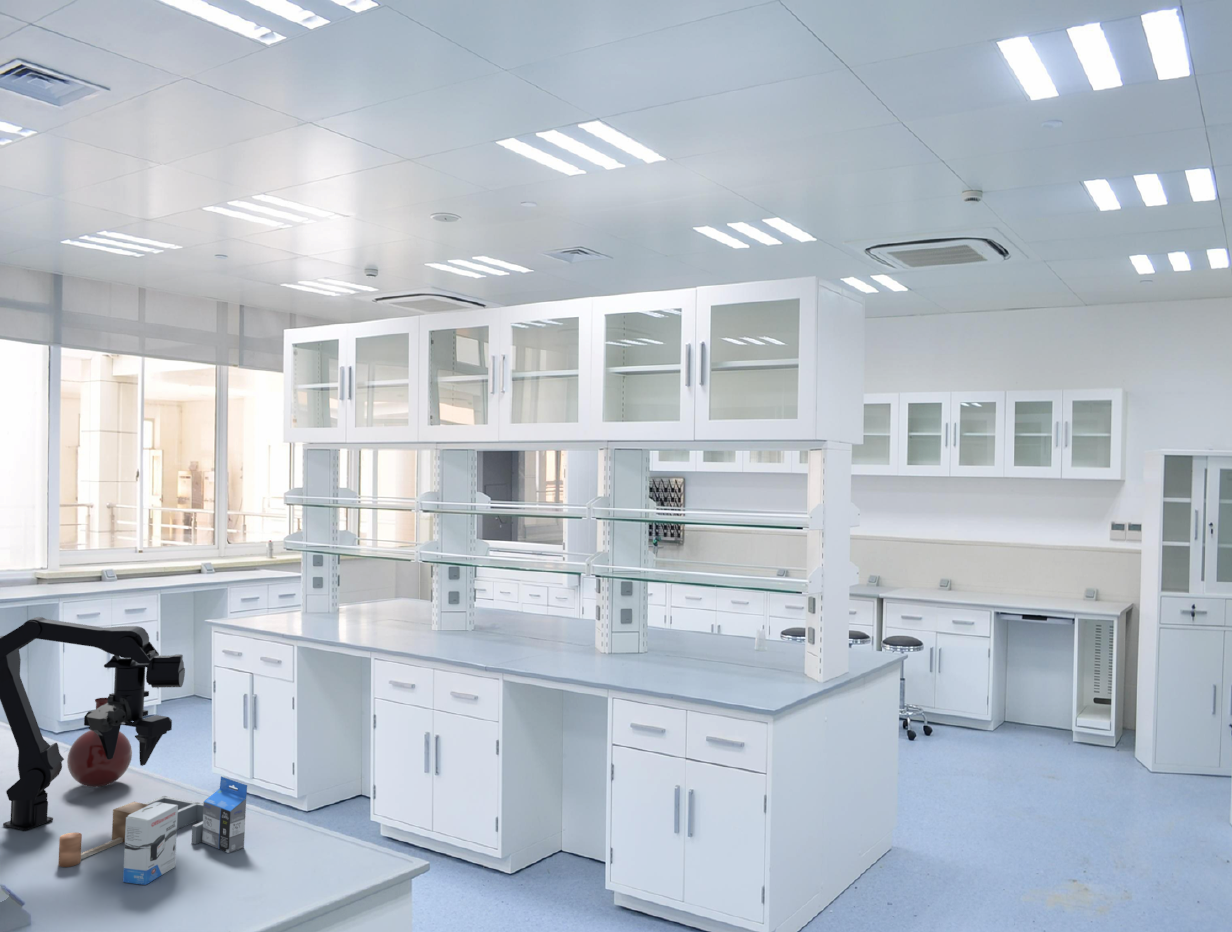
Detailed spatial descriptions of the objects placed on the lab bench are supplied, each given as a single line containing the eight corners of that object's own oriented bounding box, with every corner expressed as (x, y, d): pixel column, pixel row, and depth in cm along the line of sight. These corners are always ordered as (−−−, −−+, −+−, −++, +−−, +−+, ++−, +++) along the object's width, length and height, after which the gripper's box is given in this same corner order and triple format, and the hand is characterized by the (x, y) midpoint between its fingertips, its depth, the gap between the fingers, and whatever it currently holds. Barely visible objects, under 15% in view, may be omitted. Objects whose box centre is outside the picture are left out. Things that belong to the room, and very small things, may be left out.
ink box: (145, 885, 167) (148, 819, 167) (121, 882, 168) (124, 816, 168) (177, 866, 175) (179, 803, 175) (153, 863, 176) (156, 800, 176)
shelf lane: (122, 828, 192) (123, 811, 192) (163, 812, 202) (164, 795, 202) (195, 844, 186) (196, 826, 186) (233, 826, 195) (234, 809, 195)
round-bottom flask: (111, 796, 210) (115, 707, 210) (53, 794, 210) (57, 704, 211) (141, 777, 223) (145, 693, 224) (87, 775, 224) (90, 691, 224)
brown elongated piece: (51, 864, 174) (52, 831, 174) (132, 830, 191) (134, 801, 191) (70, 868, 172) (72, 836, 172) (151, 835, 189) (152, 805, 189)
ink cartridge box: (200, 842, 186) (203, 780, 187) (218, 836, 190) (220, 775, 190) (228, 853, 182) (230, 790, 182) (245, 847, 185) (248, 784, 185)
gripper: (62, 690, 193) (59, 766, 193) (131, 701, 187) (127, 779, 186) (108, 680, 204) (105, 752, 203) (175, 689, 197) (172, 764, 197)
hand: (126, 762), depth 197 cm, fingers open, 9 cm apart
